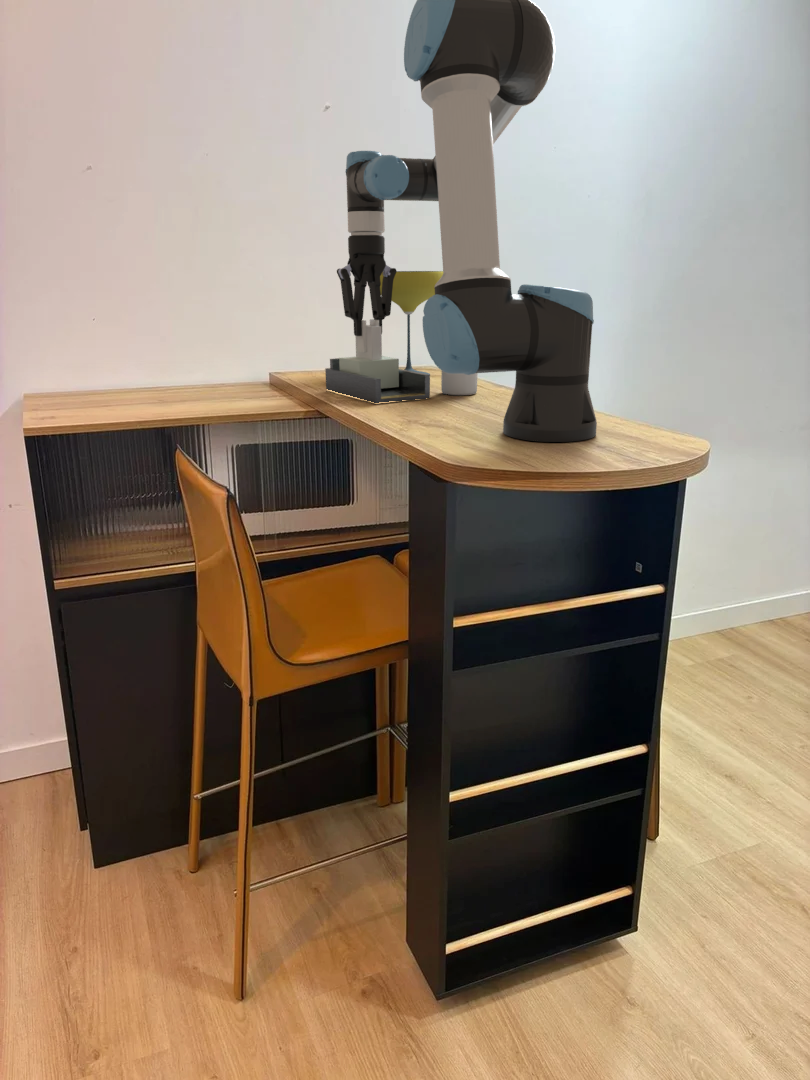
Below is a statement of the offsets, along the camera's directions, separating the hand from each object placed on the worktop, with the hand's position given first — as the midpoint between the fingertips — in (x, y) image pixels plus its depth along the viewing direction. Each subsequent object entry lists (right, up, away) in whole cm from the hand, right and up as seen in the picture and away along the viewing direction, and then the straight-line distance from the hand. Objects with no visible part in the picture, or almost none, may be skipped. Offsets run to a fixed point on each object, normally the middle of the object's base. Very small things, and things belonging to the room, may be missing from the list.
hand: (368, 351), depth 176 cm
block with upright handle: (0, -7, +2) cm, 7 cm away
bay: (+2, -9, 0) cm, 9 cm away
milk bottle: (+20, -9, +2) cm, 22 cm away
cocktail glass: (+9, +1, +32) cm, 33 cm away
